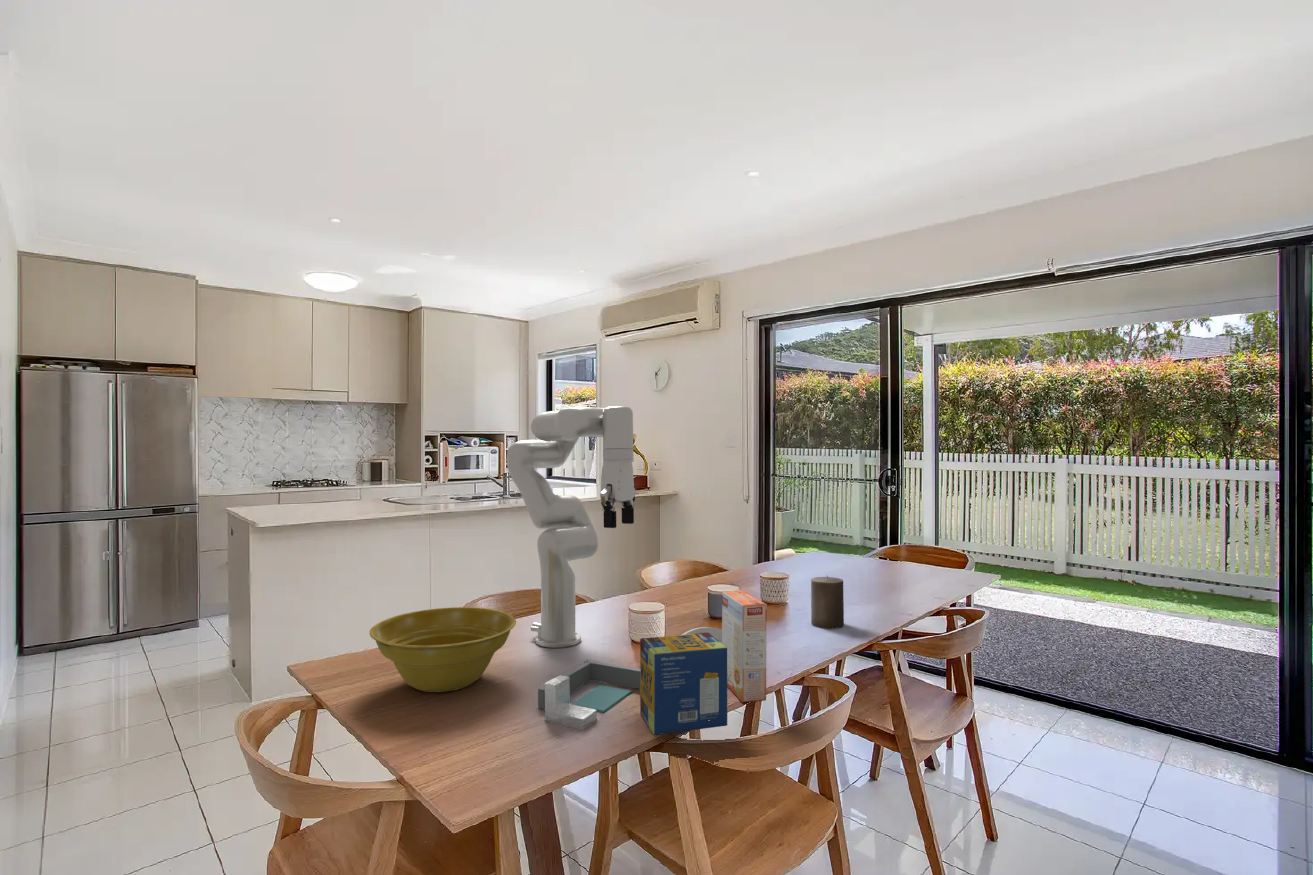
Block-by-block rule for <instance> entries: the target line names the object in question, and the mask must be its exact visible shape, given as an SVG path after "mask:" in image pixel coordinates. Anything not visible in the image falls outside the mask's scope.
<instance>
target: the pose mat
mask: <svg viewBox="0 0 1313 875" xmlns="http://www.w3.org/2000/svg"><path fill="white" fill-rule="evenodd" d="M631 693H632V690H630V689H623V688H620V687H614V686H608V685H602V684H600V685H597V686H596V687H595V688H593V689H592V690H590V691H589V692H587V693H585V694H584V695H583V696H581V697H579V698H577V699H576V700H574V701H573V702H572V703H570V704H571V705H576V706H581V707H586V708H591V709H595V710H597V713H598V712H599V713H606V712H607V711H608V710H609V709H611V708H612V707H614V706H615V705H616V704H618V703H619V702H621V701H622V700H623V699H624V698H626V697H628V696H629V695H630V694H631ZM628 694H629V695H628ZM617 702H618V703H617Z"/></svg>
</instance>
